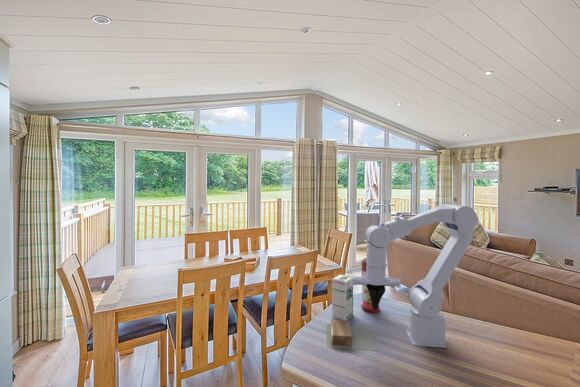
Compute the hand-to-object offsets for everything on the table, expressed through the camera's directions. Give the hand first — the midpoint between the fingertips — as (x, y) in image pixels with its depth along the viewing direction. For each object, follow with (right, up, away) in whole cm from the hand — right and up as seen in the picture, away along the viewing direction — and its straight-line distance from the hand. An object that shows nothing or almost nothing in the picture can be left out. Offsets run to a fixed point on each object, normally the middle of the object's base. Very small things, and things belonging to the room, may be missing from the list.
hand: (374, 308), depth 89 cm
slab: (-7, -8, +1) cm, 11 cm away
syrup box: (-7, -10, +16) cm, 20 cm away
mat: (-7, -10, +2) cm, 13 cm away
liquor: (+4, -9, +20) cm, 23 cm away
